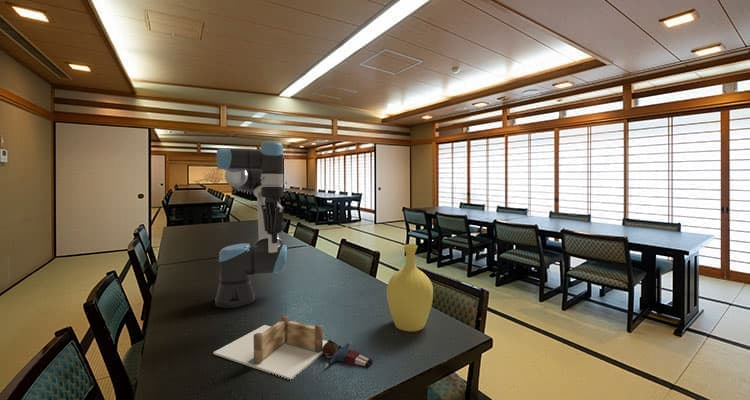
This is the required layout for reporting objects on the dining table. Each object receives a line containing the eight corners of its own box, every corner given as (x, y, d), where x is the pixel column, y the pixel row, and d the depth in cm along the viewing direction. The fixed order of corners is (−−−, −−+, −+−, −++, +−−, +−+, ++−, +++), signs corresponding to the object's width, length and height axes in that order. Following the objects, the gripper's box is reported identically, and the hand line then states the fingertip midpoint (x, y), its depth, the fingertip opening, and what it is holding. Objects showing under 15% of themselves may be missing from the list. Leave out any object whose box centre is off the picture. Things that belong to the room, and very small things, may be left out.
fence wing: (283, 337, 102) (283, 314, 101) (289, 338, 101) (289, 315, 100) (252, 362, 88) (251, 336, 87) (258, 363, 87) (258, 337, 87)
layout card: (213, 354, 94) (213, 351, 94) (264, 326, 112) (264, 324, 112) (290, 380, 82) (290, 377, 82) (334, 344, 100) (334, 342, 100)
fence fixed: (286, 343, 98) (286, 320, 98) (291, 340, 100) (291, 317, 100) (319, 352, 93) (319, 328, 93) (324, 349, 95) (324, 325, 95)
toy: (380, 357, 95) (335, 343, 101) (381, 341, 95) (336, 328, 101) (358, 384, 82) (309, 366, 88) (359, 366, 82) (310, 349, 88)
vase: (427, 339, 104) (429, 251, 102) (380, 330, 109) (380, 248, 108) (436, 319, 119) (437, 243, 117) (394, 312, 124) (394, 240, 123)
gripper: (254, 185, 118) (254, 250, 119) (271, 186, 109) (271, 256, 110) (273, 185, 123) (273, 247, 124) (291, 186, 114) (291, 253, 115)
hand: (272, 251), depth 117 cm, fingers closed
